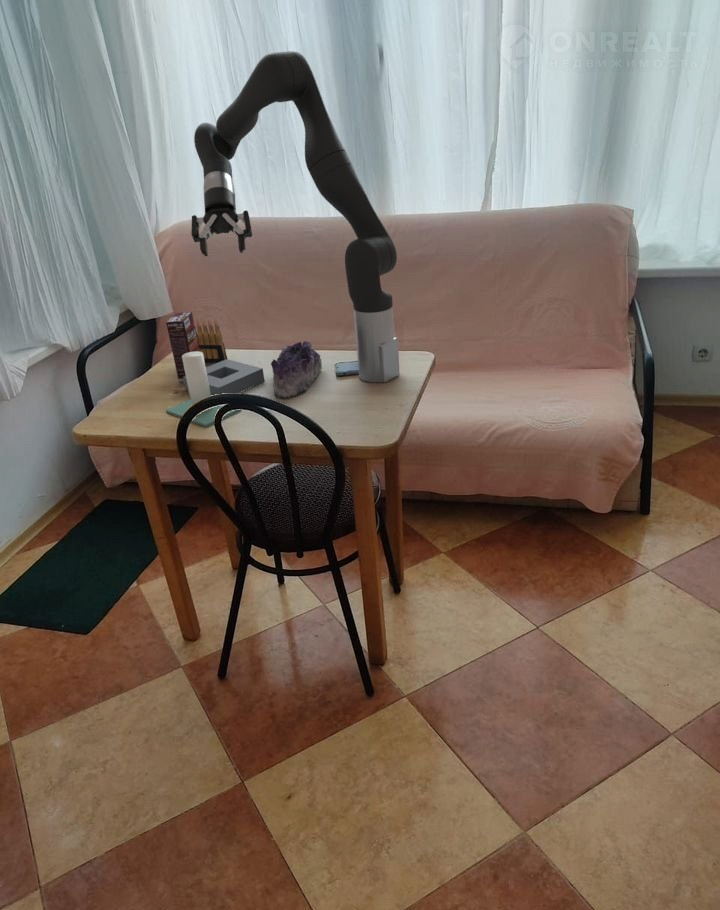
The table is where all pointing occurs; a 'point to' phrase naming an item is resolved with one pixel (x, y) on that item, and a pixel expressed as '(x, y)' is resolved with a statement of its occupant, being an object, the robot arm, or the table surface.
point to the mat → (201, 419)
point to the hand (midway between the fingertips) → (223, 252)
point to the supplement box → (182, 339)
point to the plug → (196, 376)
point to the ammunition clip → (210, 342)
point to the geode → (295, 370)
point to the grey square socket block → (231, 377)
